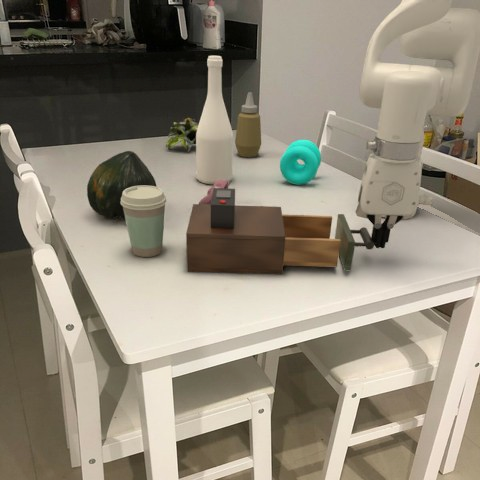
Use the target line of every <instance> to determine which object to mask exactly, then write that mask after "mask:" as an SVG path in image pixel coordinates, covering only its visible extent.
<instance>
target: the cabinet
mask: <svg viewBox="0 0 480 480" xmlns="http://www.w3.org/2000/svg"><path fill="white" fill-rule="evenodd" d="M191 207H192V208H191V211H190V216H189V220H188V224H187V228H186V233H185V235H186V237H185V239H186V240H185V241H186V271H187V272H194V273H196V272H197V273H198V272H199V273H200V272H201V273H227V274H229V273H230V274H264V275H265V274H266V275H283V271H284V265H283V260H284V248H285V230H284V224H283V217H282V215H283V211H282V206H270V205H269V206H267V205H265V206H264V205H236V204H235V215H234V228H211V205H206V204H199V203H193V204H192V206H191Z"/></svg>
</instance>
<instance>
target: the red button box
mask: <svg viewBox="0 0 480 480" xmlns="http://www.w3.org/2000/svg"><path fill="white" fill-rule="evenodd" d="M235 205H236V188H229V187H228V188H213V194H212V200H211V228H234V215H235Z"/></svg>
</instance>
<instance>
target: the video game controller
mask: <svg viewBox="0 0 480 480" xmlns="http://www.w3.org/2000/svg"><path fill="white" fill-rule="evenodd" d="M230 184H231V183H230V181H229V182H228V181H227V180H223V179H221V180H218V181H216V182H215V183H214V185H212V186H211V187H209V188H208V190H207V191H206V194H207V195H205V196H204V197H203V198H201V199H200V200H199V201H198V204H206V205H211V200H212V194H213V188H228V189H229V187H230Z"/></svg>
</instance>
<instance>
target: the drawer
mask: <svg viewBox="0 0 480 480" xmlns="http://www.w3.org/2000/svg"><path fill="white" fill-rule="evenodd" d="M282 217H283V224H284V230H285V248H284V260H283V266H293V267H296V266H298V267H325V268H337V267H338V263H339V259H340V261H341V264H342V268H343V270H344V271H352V267H353V258H354V253H355V247H365V249H367V250H369V251H370V250H373V249H374V248H375V245H374V243H373V241H372V238H371V236H372V235H371V234H370V232H369V230H368V228H367V227H365V226H364V227H363V226H362V227H360V228H359V229H351V228H350V225H349V223H348V220H347V218H346V216H345V214H344V213H338V214H337V219H336V226H335V227H336V228H335V234H334V238H331V230H332V225H333V224H332V223H333V216H332V215H315V214H314V215H312V214H311V215H309V214H282ZM353 234H356V235H357V234H358V235H360V237H361V239H362V242H360V241H358V242H357V241H356V240H355V238H354V235H353Z"/></svg>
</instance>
